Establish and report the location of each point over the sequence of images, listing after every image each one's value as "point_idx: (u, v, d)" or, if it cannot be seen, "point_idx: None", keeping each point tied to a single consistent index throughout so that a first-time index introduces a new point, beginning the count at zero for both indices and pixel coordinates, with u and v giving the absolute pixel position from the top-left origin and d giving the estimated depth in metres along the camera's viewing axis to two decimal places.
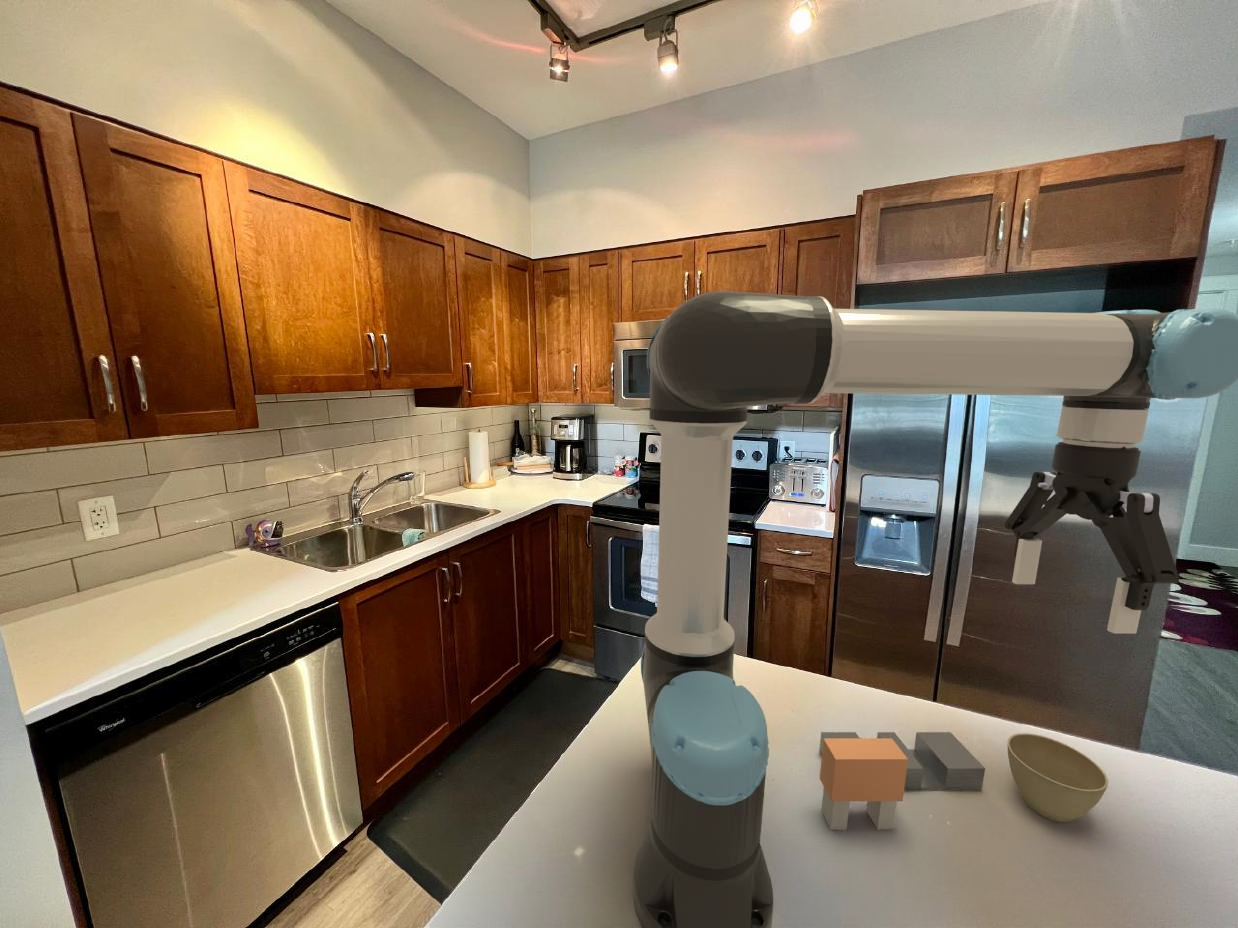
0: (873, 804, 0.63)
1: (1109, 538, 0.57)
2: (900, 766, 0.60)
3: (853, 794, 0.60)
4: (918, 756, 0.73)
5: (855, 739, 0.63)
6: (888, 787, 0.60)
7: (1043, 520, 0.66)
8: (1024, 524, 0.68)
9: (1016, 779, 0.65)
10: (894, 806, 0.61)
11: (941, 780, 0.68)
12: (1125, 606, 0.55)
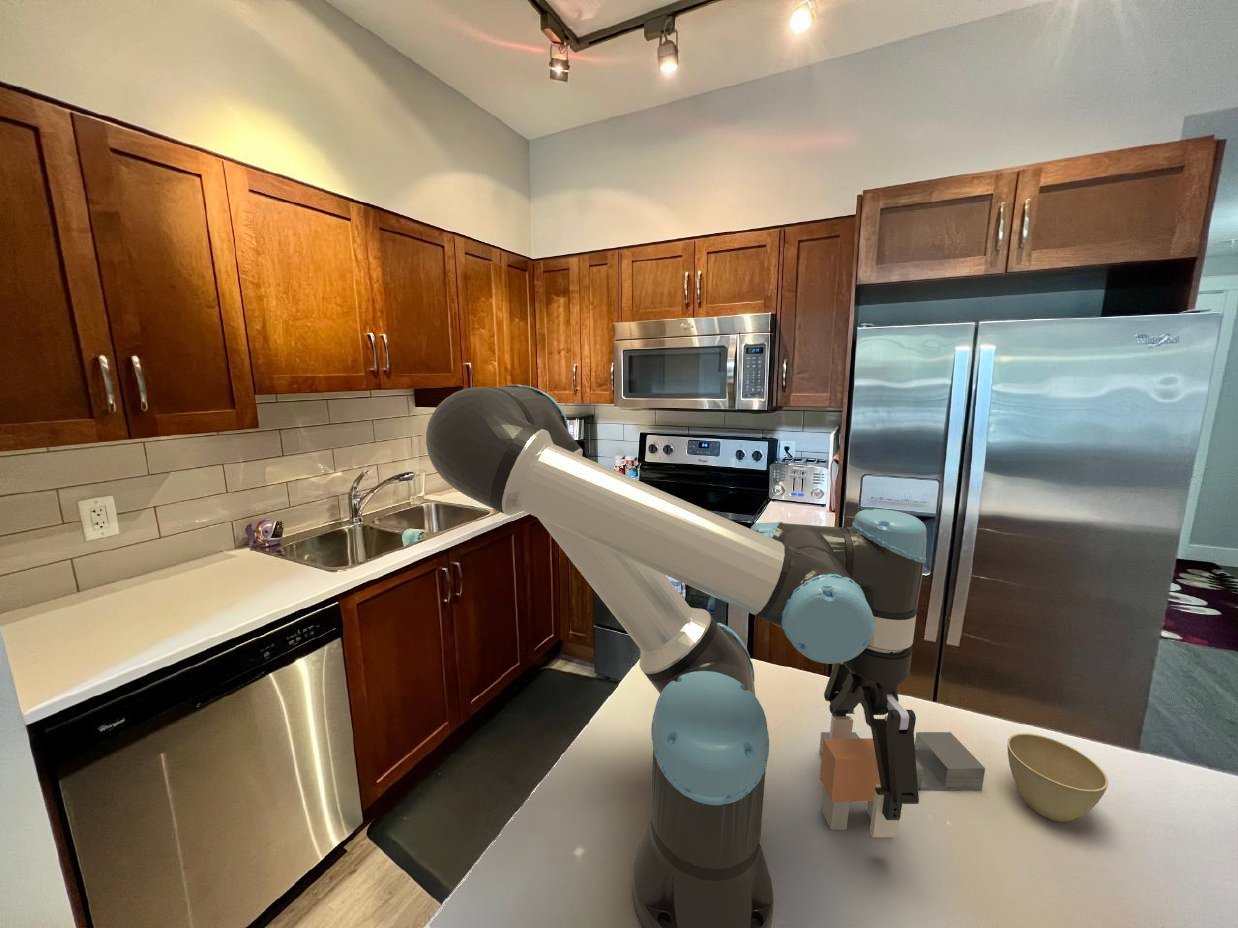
0: None
1: (875, 741, 0.57)
2: None
3: (853, 794, 0.60)
4: (918, 756, 0.73)
5: (855, 739, 0.63)
6: None
7: (846, 701, 0.65)
8: (834, 701, 0.67)
9: (1016, 779, 0.65)
10: None
11: (941, 780, 0.68)
12: (882, 812, 0.56)
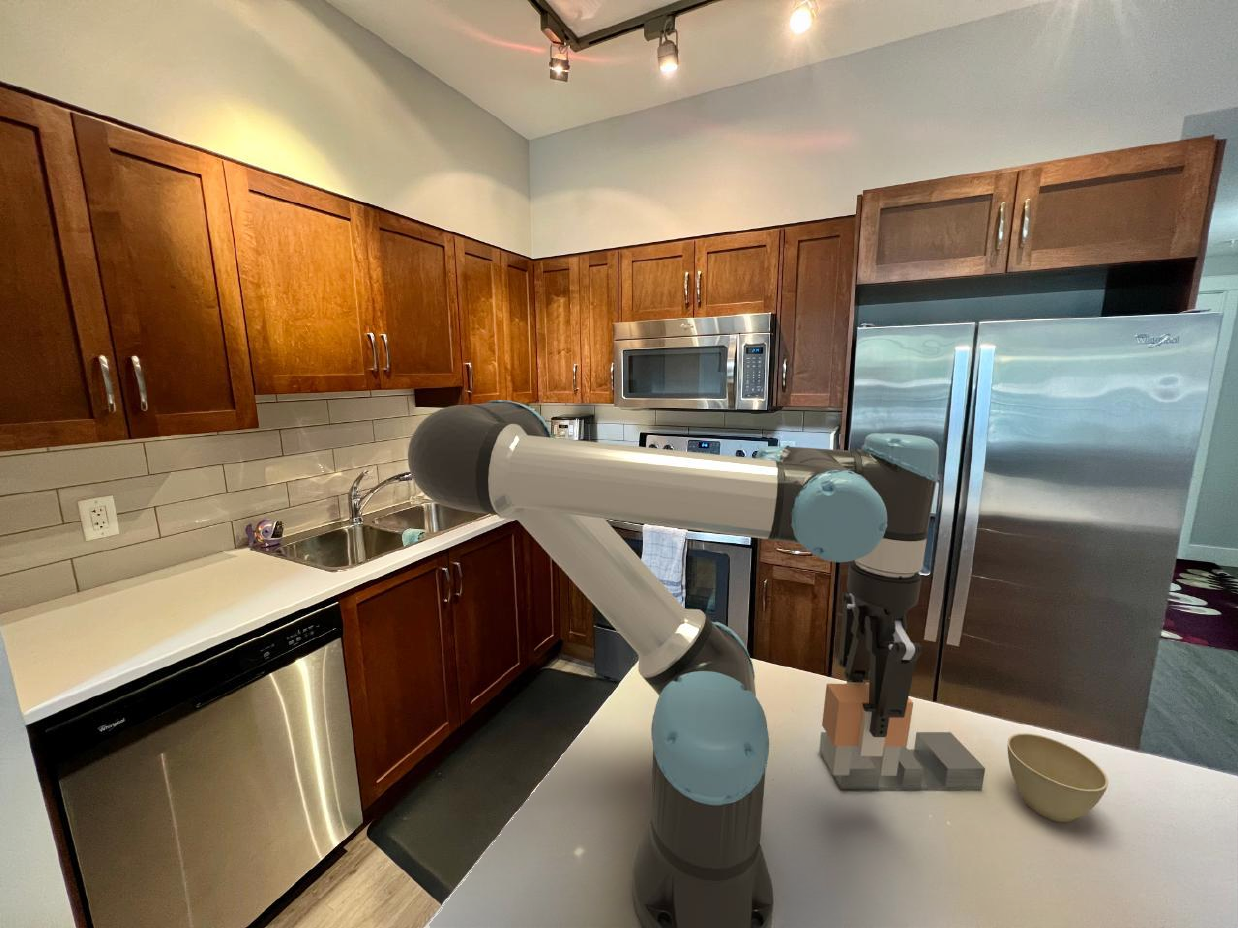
0: None
1: (871, 666, 0.57)
2: None
3: (856, 738, 0.59)
4: (918, 756, 0.73)
5: (859, 684, 0.62)
6: (892, 731, 0.59)
7: (859, 651, 0.61)
8: (848, 661, 0.63)
9: (1016, 779, 0.65)
10: (898, 752, 0.60)
11: (941, 780, 0.68)
12: (869, 731, 0.58)
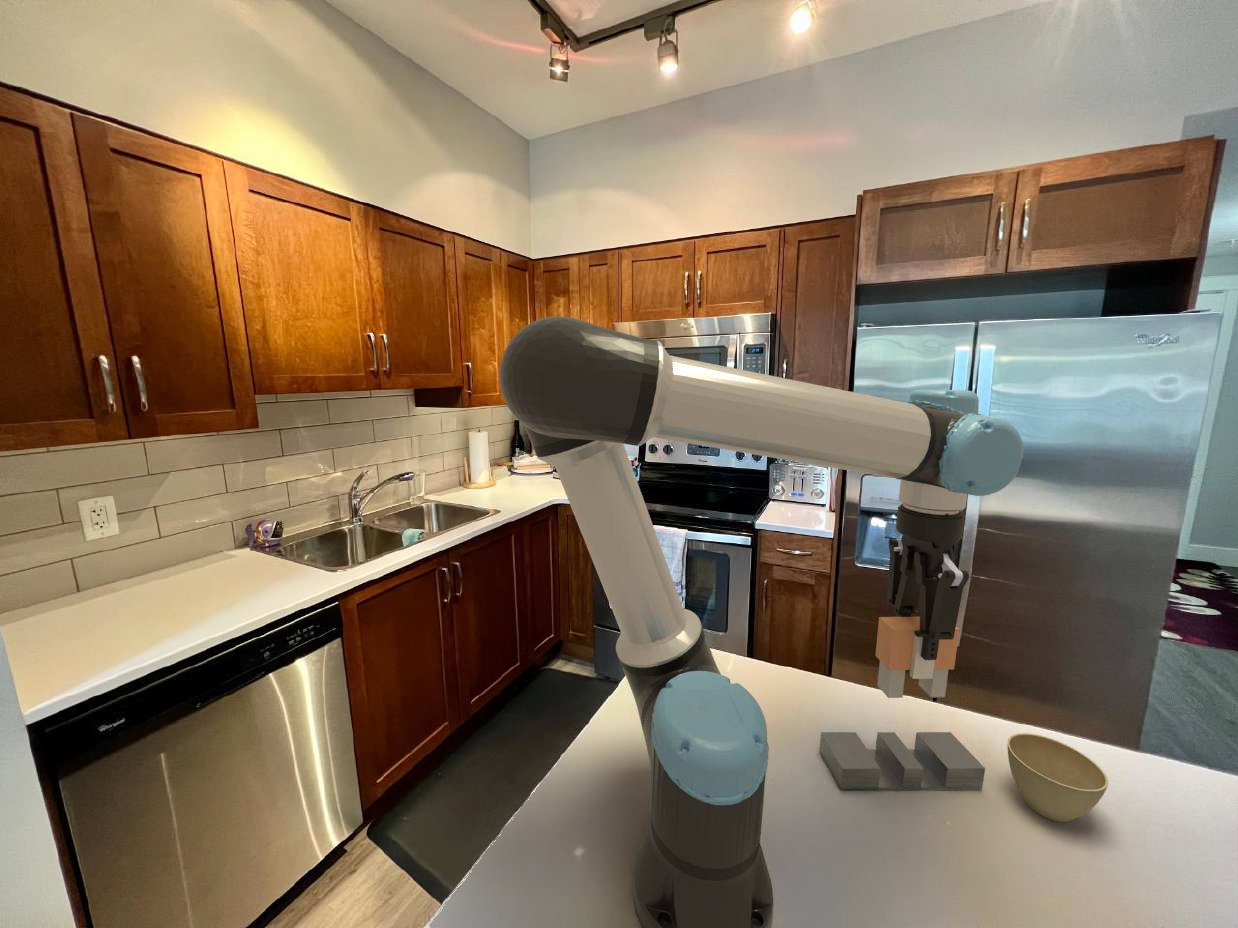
0: None
1: (921, 596, 0.64)
2: None
3: (909, 663, 0.66)
4: (918, 756, 0.73)
5: (908, 617, 0.69)
6: (941, 656, 0.66)
7: (907, 588, 0.68)
8: (897, 598, 0.70)
9: (1016, 779, 0.65)
10: (946, 675, 0.67)
11: (941, 780, 0.68)
12: (920, 656, 0.65)
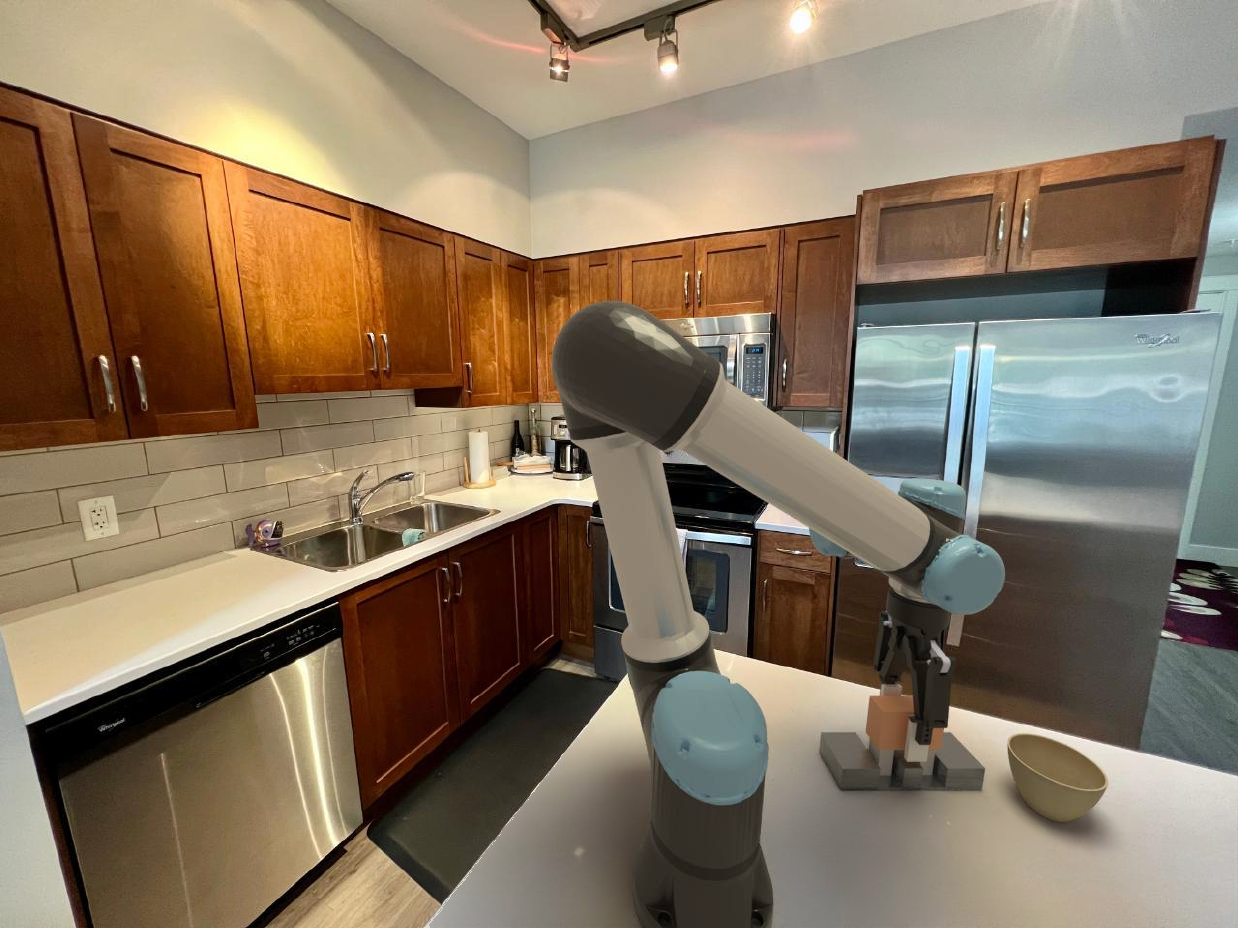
0: None
1: (913, 680, 0.66)
2: None
3: (897, 743, 0.68)
4: None
5: (898, 696, 0.71)
6: None
7: (894, 661, 0.71)
8: (883, 667, 0.73)
9: (1016, 779, 0.65)
10: (933, 754, 0.69)
11: (941, 780, 0.68)
12: (915, 740, 0.66)
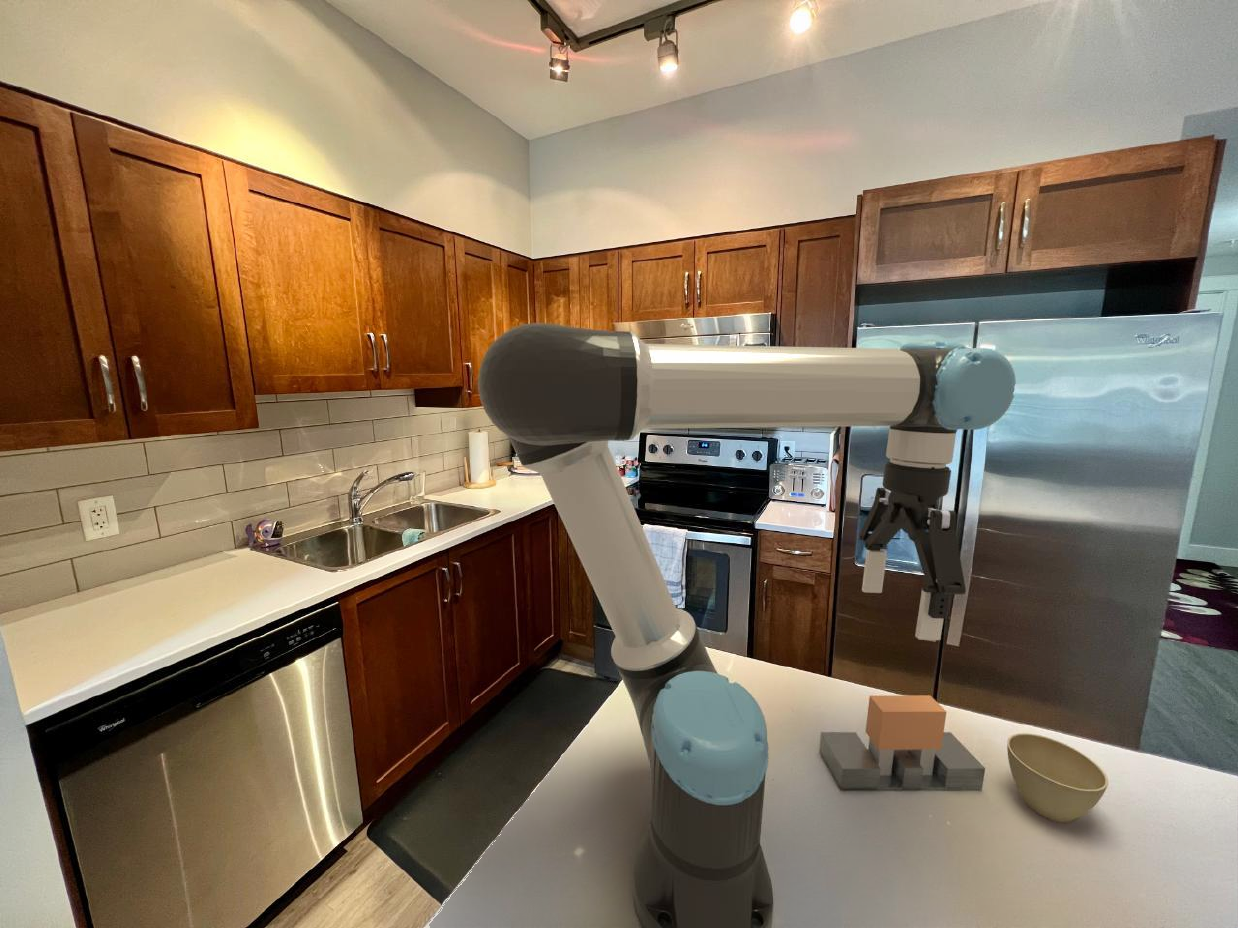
0: (914, 753, 0.71)
1: (919, 551, 0.61)
2: (939, 718, 0.68)
3: (897, 743, 0.68)
4: None
5: (898, 696, 0.71)
6: (928, 736, 0.68)
7: (883, 533, 0.70)
8: (870, 536, 0.73)
9: (1016, 779, 0.65)
10: (933, 754, 0.69)
11: (941, 780, 0.68)
12: (928, 614, 0.60)
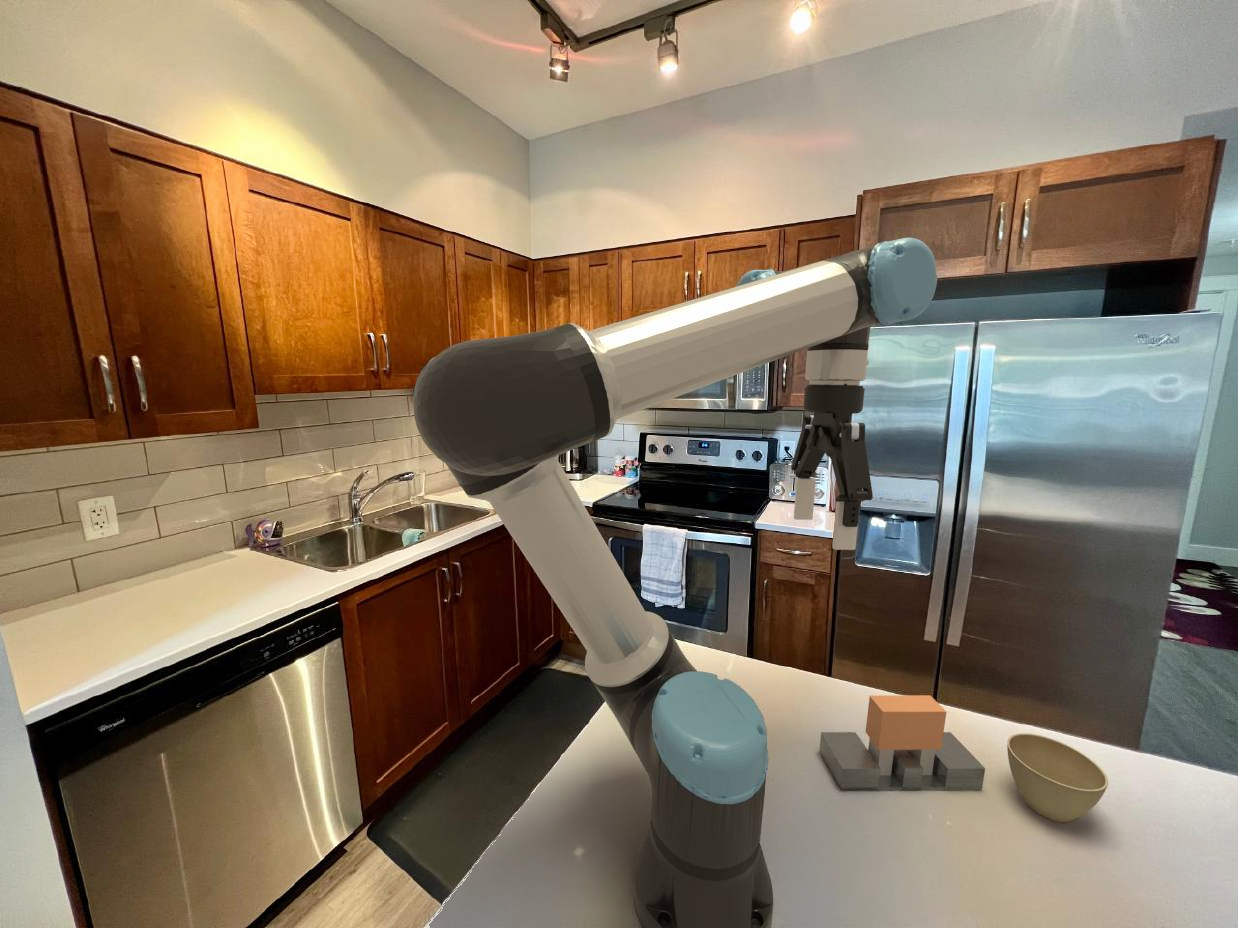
0: (914, 753, 0.71)
1: (834, 465, 0.63)
2: (939, 718, 0.68)
3: (897, 743, 0.68)
4: None
5: (898, 696, 0.71)
6: (928, 736, 0.68)
7: (809, 458, 0.73)
8: (799, 464, 0.75)
9: (1016, 779, 0.65)
10: (933, 754, 0.69)
11: (941, 780, 0.68)
12: (842, 525, 0.62)
